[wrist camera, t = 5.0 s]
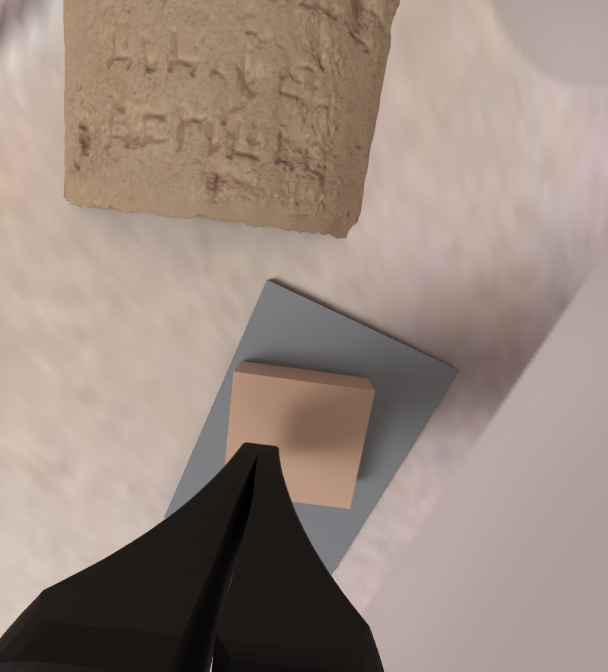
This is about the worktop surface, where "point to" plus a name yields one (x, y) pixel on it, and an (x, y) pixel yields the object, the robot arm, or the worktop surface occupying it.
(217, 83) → the clay tablet
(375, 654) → the robot arm
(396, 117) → the worktop surface
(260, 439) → the tile
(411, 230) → the worktop surface
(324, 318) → the mat
